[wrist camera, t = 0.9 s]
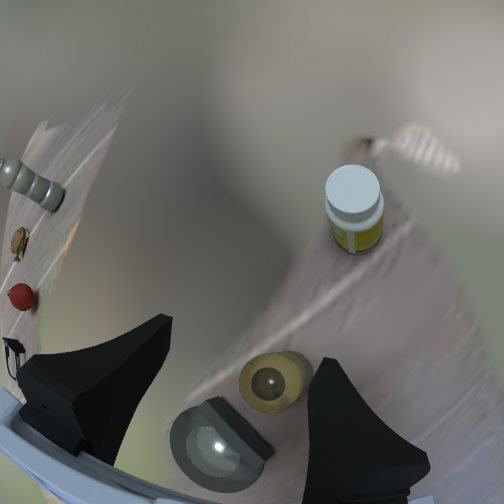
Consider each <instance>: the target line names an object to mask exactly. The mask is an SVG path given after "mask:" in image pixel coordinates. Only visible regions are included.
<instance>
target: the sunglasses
mask: <svg viewBox="0 0 504 504" xmlns="http://www.w3.org/2000/svg"><path fill="white" fill-rule="evenodd" d="M3 340H4V343H5V353H6V362H7V368H8V372H9V375H10V376H11V377H12V378H13V379H14V380H15V381H16V378H14V377H13V376H12V375H11V374H10V371H9V367H8V357H9V347H10V348H11V349H12V351H14V352H15V359H16V369H17V371H18V370H19V369H20V359H19V357H20V356H19V353H25V349H24V347H23V345H22V344H21V343H19V341H18V340H15V339H10V338H4V337H3ZM8 345H9V347H8ZM18 386H19V384H18ZM19 388H20V386H19Z"/></svg>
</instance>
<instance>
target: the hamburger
mask: <svg viewBox="0 0 504 504" xmlns="http://www.w3.org/2000/svg"><path fill="white" fill-rule="evenodd" d="M28 237H29V234H28V232H27V231H26V229H25V228H23V227H21V228H19V229H18V230H17V231H16V232H15V234H14V236H13V238H12V241H11V251H12V254H14V261H17V258H18V259H21V260H22V253H23V252H24V250H25V247H26V244H27V239H28ZM20 255H21V256H20Z"/></svg>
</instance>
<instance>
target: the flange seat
mask: <svg viewBox="0 0 504 504" xmlns="http://www.w3.org/2000/svg"><path fill="white" fill-rule="evenodd" d="M170 445H171V450H172V453H173V456H174V458H175V460H176V462H177V464H178V466H179V467H180V469H181V470H182V471H183V472H184V473H185V474H186V475H187V476H188V477H189V478H190V479H191V480H192V481H194V482H195V483H196V484H198V485H200V486H202V487H204V488H206V489H208V490H211V491H215V492H220V493H233V492H238V491H241V490H244V489H246V488H247V487H249V486H250V485H252V484H253V482H254V481H255V480H256V479H257V478H258V477H259V476H260V474H261V472H262V470H263V467H264V463H265V462H266V461H267V460H268V459H269V458H270V456H271V455H272V454H273V453H274V452H273V451H272V450H271V449H270V448H269V447H268V446H267V445H266V444H264V443H263V442H262V441H261V439H260V438H259V436H258V434H257V432H256V431H255V430H254V428H253V427H252V426H251V425H250V424H249V423H248V422H247V421H246V420H245V419H244V418H243V417H241V416H240V415H239V414H237V413H235V412H234V411H232V410H231V409H230V408H229V407H228V406H227V405H226V404H225V402H224V401H223V400H222V399H221V398H220V397H219V396H218V397H215V398H211V399H208V400H205V401H204V402H203V403H202V404H201V405H199V406H195V407H192V408H189V409H187V410H185V411H184V412H182V413H181V414H180V415H179V416H178V417H177V418H176V420H175V421H174V423H173V425H172V428H171V432H170Z"/></svg>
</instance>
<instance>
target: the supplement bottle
mask: <svg viewBox="0 0 504 504" xmlns="http://www.w3.org/2000/svg"><path fill="white" fill-rule="evenodd" d="M325 191H326V199H325V210H326V213H327V216H328V219H329V223H330V225H331V229H332V232H333V235H334V238H335V240H336V242H337V244H338V245H339V246H340V247H341V248H342V249H343V250H345V251H347V252H349V253H353V254H362V253H366V252H368V251H370V250H372V249H373V248H374V247H375V246H376V245H377V243H378V242H379V240H380V237H381V232H382V223H383V214H384V199H383V196H382V193H381V191H380V185H379V182H378V179H377V178H376V176H375V175H374V174H373V173H372V172H371V171H370V170H369V169H367V168H365V167H362V166H359V165H346V166H342V167H340V168H338V169H336V170H335V171H334V172H333V173H332V174H331V175H330V176H329V178H328V180H327V182H326V187H325Z"/></svg>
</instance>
